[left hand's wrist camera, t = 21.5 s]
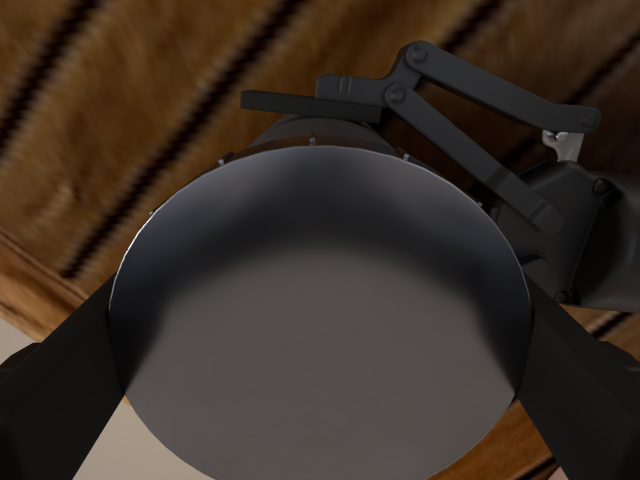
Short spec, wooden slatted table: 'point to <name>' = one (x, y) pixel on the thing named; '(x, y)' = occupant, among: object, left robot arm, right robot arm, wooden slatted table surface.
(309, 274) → the lid
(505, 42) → the wooden slatted table surface
